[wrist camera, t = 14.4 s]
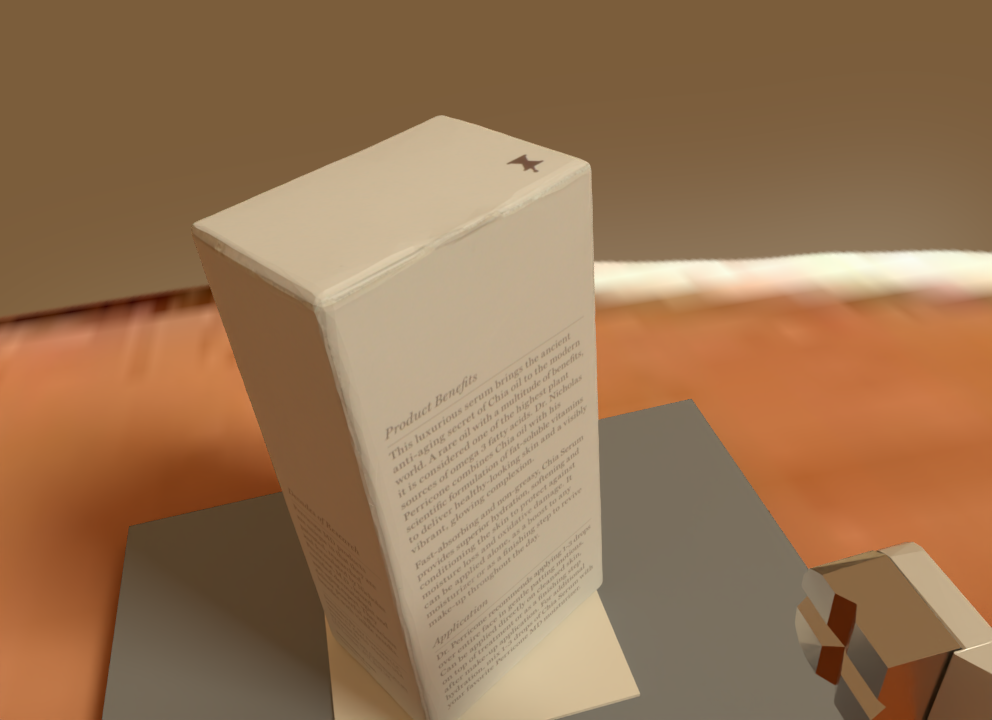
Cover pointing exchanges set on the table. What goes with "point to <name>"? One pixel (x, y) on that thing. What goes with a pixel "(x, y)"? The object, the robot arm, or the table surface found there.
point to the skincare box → (427, 395)
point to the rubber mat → (549, 665)
